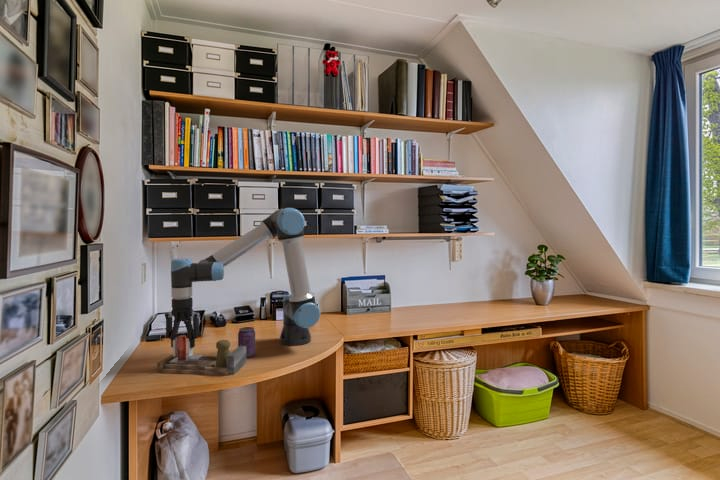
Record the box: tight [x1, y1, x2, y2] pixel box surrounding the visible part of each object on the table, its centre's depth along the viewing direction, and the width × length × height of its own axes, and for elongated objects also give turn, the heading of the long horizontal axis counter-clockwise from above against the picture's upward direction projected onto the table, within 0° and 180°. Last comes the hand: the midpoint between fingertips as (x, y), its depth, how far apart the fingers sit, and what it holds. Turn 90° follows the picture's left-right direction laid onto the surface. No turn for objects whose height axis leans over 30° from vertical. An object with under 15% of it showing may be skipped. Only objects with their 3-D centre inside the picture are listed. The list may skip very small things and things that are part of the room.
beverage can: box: [237, 326, 256, 359], centre depth 164 cm, size 7×7×12 cm
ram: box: [169, 334, 205, 365], centre depth 152 cm, size 11×8×11 cm
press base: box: [156, 346, 247, 376], centre depth 151 cm, size 30×14×7 cm, turn 85°
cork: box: [215, 339, 231, 368], centre depth 151 cm, size 6×6×11 cm
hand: (183, 355), depth 152 cm, fingers open, 5 cm apart
